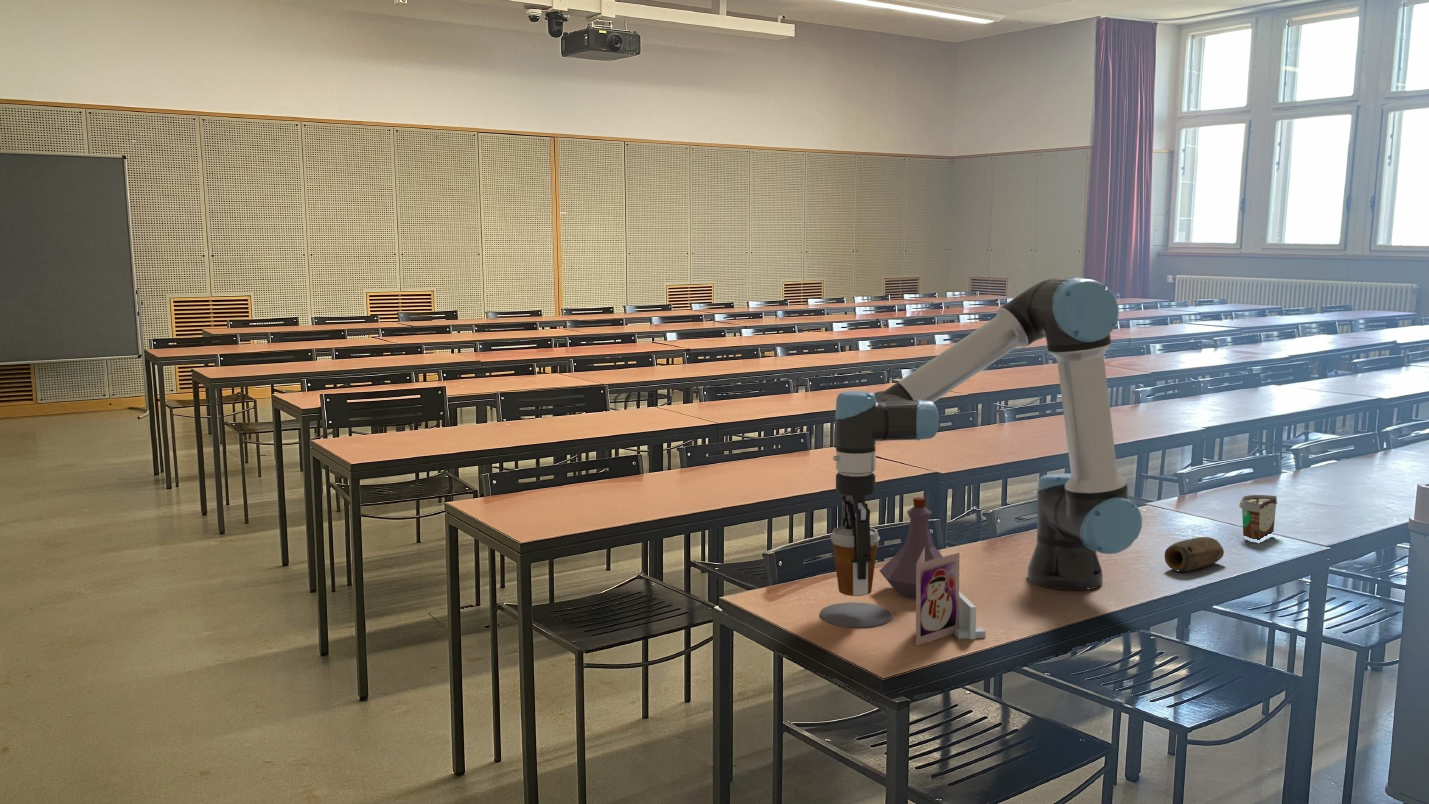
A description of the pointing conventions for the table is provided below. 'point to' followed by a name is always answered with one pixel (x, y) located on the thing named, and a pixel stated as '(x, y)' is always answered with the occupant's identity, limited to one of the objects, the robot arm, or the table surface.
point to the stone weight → (1193, 553)
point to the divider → (968, 620)
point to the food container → (1258, 515)
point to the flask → (911, 552)
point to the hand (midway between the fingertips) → (855, 587)
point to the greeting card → (937, 597)
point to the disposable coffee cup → (845, 554)
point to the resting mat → (856, 615)
